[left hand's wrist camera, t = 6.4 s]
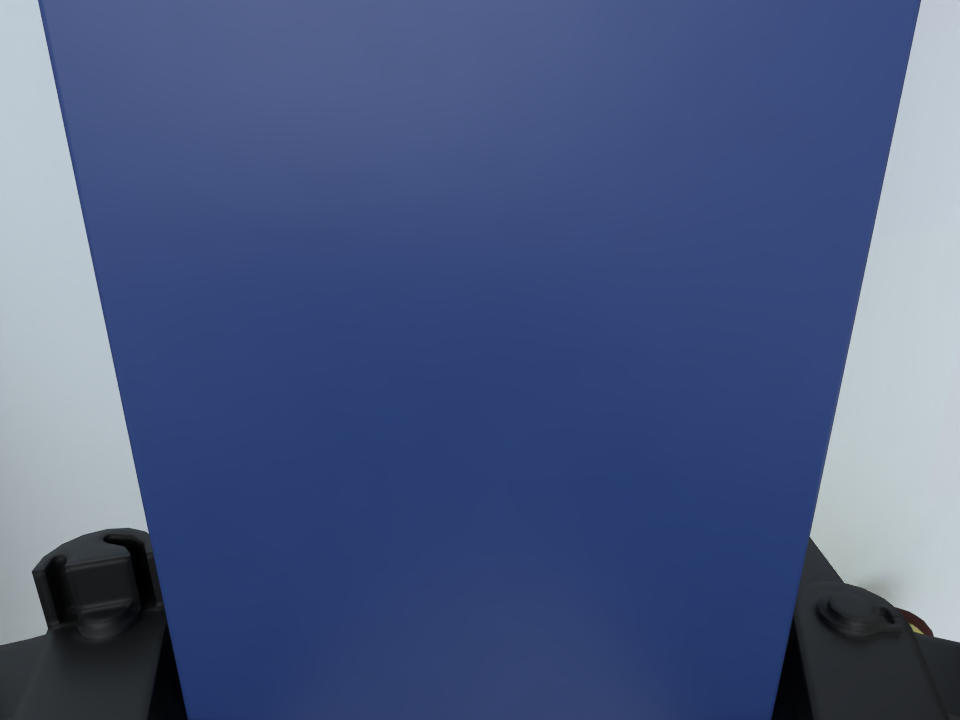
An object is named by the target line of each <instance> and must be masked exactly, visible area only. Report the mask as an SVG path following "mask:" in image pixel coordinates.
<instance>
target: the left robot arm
mask: <svg viewBox="0 0 960 720" xmlns="http://www.w3.org/2000/svg"><path fill="white" fill-rule="evenodd" d="M32 574H33V578H34V581H35V584H36V588H37V591H38V595H39V598H40V602H41V605H42V609H43V612H44V616H45V619H46V622H47V626H48V630H47V633H46V635H42V636H39V637H35V638H32V639H28V640H23V641H19V642H14V643H10V644H5V645H0V720H188V718H187V713H186V708H185V704H184V699H183V694H182V689H181V684H180V680H179V675H178V670H177V665H176V660H175V656H174V651H173V646H172V641H171V636H170V632H169V627H168V622H167V617H166V612H165V608H164V603H163V598H162V593H161V588H160V584H159V579H158V574H157V569H156V564H155V560H154V555H153V550H152V545H151V540H150V535H149V534H148V533H147V532H145V531H140V530H136V529H131V528H119V529H106V530H102V531H98V532H94V533H89V534H85V535H83V536H80V537H78V538H76V539H73V540H71V541H69V542H66V543H64V544H62V545H60V546H59V547H57V548H56V549H55V550H53V551H52V552H50V553H49V554H47V555H46V556H44V557H43V558H42V559H41V561H40V562H39V563H38V564H37V566H36V567H35V568H34V569H33V571H32ZM771 720H960V643H959V642H954V641H950V640H945V639H941V638H936V637H932V636H928V635H924V634H921V633H917V632H914V631H913V629H912V627H911V626H910V624H909V623H908V621H907V620H906V619H905V617H904V616H903V614H902V613H901V612H900V611H899V610H897V609H896V608H895V607H894V606H892V605H891V604H890V603H889V602H887V601H886V600H885V599H883V598H881V597H879V596H877V595H875V594H873V593H871V592H869V591H867V590H865V589H863V588H860V587H856V586H853V585H849V584H846V583H844V582H843V581H842V579H841V578H840V577H839V575H838V574H837V573H836V571H835V570H834V569H833V567H832V566H831V565H830V563H829V562H828V561H827V559H826V558H825V557H824V555H823V554H822V553H821V551H820V550H819V549H818V547H817V546H816V545H815V543H814V542H813V541H812V539H811V538H810V537H809V541H808V546H807V551H806V556H805V560H804V565H803V570H802V575H801V580H800V584H799V589H798V594H797V599H796V604H795V608H794V613H793V618H792V623H791V628H790V632H789V637H788V642H787V647H786V652H785V657H784V661H783V666H782V671H781V676H780V681H779V685H778V690H777V695H776V700H775V705H774V709H773V714H772V719H771Z"/></svg>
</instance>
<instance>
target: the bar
mask: <svg viewBox="0 0 960 720" xmlns="http://www.w3.org/2000/svg"><path fill="white" fill-rule="evenodd" d="M38 2H39V7H40V12H41V17H42V22H43V26H44V31H45V36H46V41H47V46H48V50H49V55H50V60H51V65H52V70H53V74H54V79H55V84H56V89H57V94H58V98H59V103H60V108H61V113H62V118H63V122H64V127H65V132H66V137H67V142H68V146H69V151H70V156H71V161H72V166H73V170H74V175H75V180H76V185H77V190H78V194H79V199H80V204H81V209H82V214H83V218H84V223H85V228H86V233H87V238H88V243H89V247H90V252H91V257H92V262H93V267H94V271H95V276H96V281H97V286H98V291H99V295H100V300H101V305H102V310H103V315H104V319H105V324H106V329H107V334H108V339H109V343H110V348H111V353H112V358H113V363H114V367H115V372H116V377H117V382H118V387H119V391H120V396H121V401H122V406H123V411H124V415H125V420H126V425H127V430H128V435H129V439H130V444H131V449H132V454H133V459H134V463H135V468H136V473H137V478H138V483H139V487H140V492H141V497H142V502H143V507H144V511H145V516H146V521H147V526H148V531H149V535H150V540H151V545H152V550H153V555H154V560H155V564H156V569H157V574H158V579H159V584H160V588H161V593H162V598H163V603H164V608H165V612H166V617H167V622H168V627H169V632H170V636H171V641H172V646H173V651H174V656H175V660H176V665H177V670H178V675H179V680H180V684H181V689H182V694H183V699H184V704H185V708H186V713H187V718H188V720H771V719H772V714H773V709H774V705H775V700H776V695H777V690H778V685H779V681H780V676H781V671H782V666H783V661H784V657H785V652H786V647H787V642H788V637H789V632H790V628H791V623H792V618H793V613H794V608H795V604H796V599H797V594H798V589H799V584H800V580H801V575H802V570H803V565H804V560H805V556H806V551H807V546H808V541H809V536H810V531H811V527H812V522H813V517H814V512H815V507H816V503H817V498H818V493H819V488H820V483H821V479H822V474H823V469H824V464H825V459H826V455H827V450H828V445H829V440H830V435H831V430H832V426H833V421H834V416H835V411H836V406H837V402H838V397H839V392H840V387H841V382H842V378H843V373H844V368H845V363H846V358H847V354H848V349H849V344H850V339H851V334H852V329H853V325H854V320H855V315H856V310H857V305H858V301H859V296H860V291H861V286H862V281H863V277H864V272H865V267H866V262H867V257H868V252H869V248H870V243H871V238H872V233H873V228H874V224H875V219H876V214H877V209H878V204H879V200H880V195H881V190H882V185H883V180H884V176H885V171H886V166H887V161H888V156H889V151H890V147H891V142H892V137H893V132H894V127H895V123H896V118H897V113H898V108H899V103H900V99H901V94H902V89H903V84H904V79H905V75H906V70H907V65H908V60H909V55H910V50H911V46H912V41H913V36H914V31H915V26H916V22H917V17H918V12H919V7H920V2H921V0H38Z"/></svg>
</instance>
